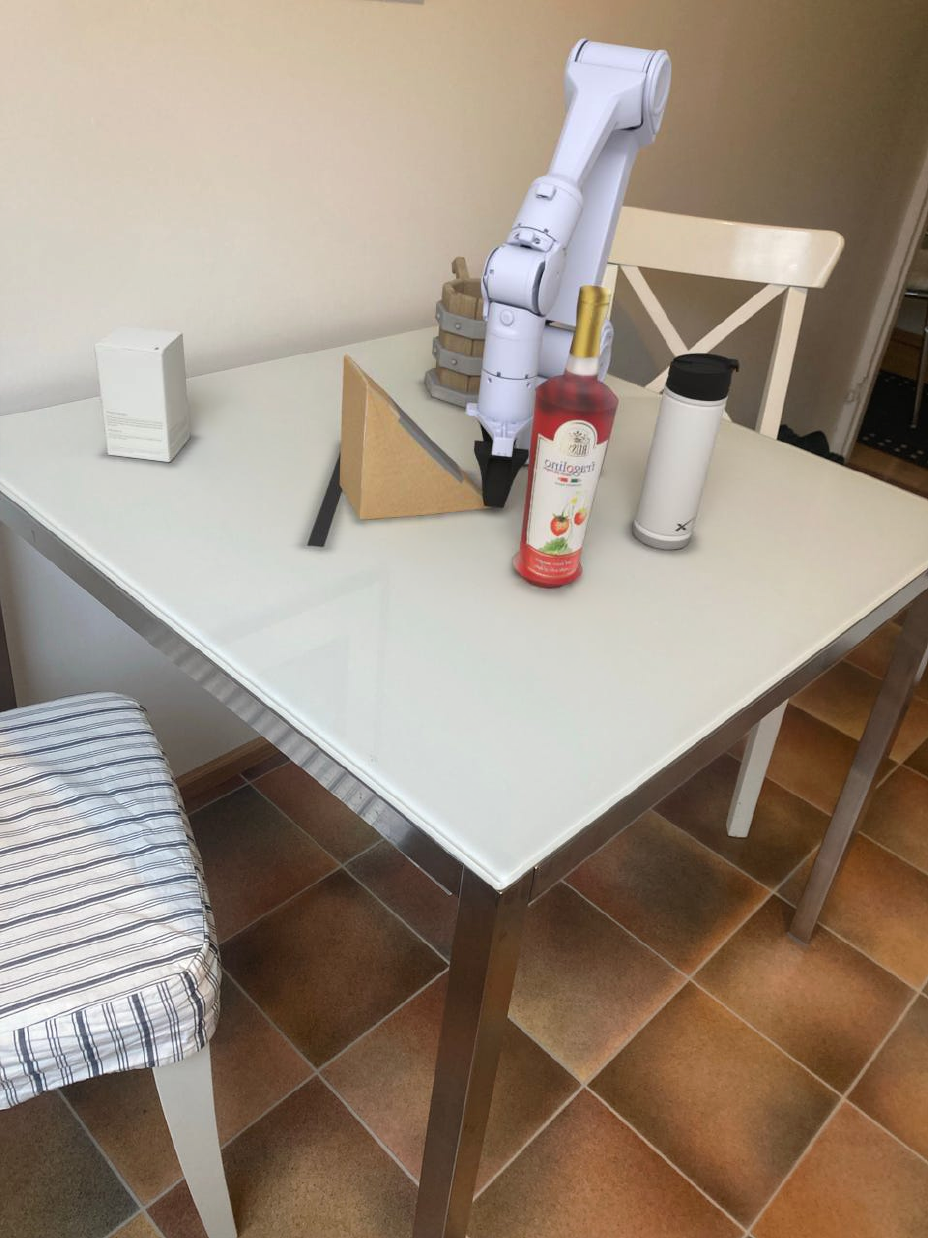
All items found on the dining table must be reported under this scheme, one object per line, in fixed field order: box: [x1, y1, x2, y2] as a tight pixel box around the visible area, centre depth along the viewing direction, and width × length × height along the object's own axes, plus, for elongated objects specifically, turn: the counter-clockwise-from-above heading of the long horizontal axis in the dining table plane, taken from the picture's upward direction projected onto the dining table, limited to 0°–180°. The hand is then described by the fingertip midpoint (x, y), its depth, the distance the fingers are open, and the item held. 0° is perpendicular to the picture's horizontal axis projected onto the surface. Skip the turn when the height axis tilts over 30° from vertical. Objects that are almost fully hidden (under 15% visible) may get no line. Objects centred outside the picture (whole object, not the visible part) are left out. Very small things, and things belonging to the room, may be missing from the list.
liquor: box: [512, 286, 619, 589], centre depth 90 cm, size 7×7×28 cm
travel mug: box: [631, 352, 740, 551], centre depth 101 cm, size 6×7×20 cm
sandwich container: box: [340, 354, 494, 521], centre depth 105 cm, size 9×15×15 cm, turn 111°
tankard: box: [424, 256, 487, 409], centre depth 135 cm, size 20×13×15 cm, turn 13°
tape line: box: [307, 450, 343, 548], centre depth 108 cm, size 2×24×1 cm, turn 178°
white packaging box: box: [93, 324, 191, 463], centre depth 109 cm, size 7×7×13 cm
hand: (494, 489), depth 108 cm, fingers open, 7 cm apart
